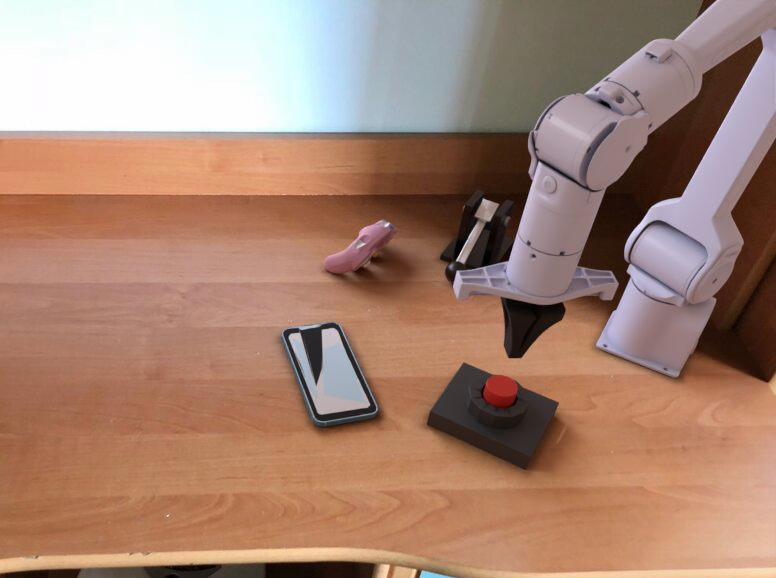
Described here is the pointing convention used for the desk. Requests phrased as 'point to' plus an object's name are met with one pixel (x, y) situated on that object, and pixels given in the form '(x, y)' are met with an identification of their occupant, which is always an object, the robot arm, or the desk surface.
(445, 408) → the button box
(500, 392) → the button
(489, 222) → the press lever
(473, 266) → the bracket
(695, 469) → the desk surface
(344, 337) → the smartphone
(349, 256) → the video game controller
